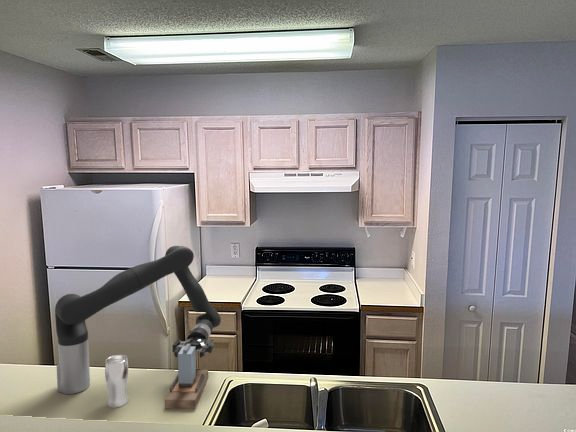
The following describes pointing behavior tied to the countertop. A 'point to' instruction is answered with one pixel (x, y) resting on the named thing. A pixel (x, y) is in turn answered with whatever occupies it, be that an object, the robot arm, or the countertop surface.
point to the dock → (186, 392)
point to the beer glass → (116, 380)
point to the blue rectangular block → (187, 366)
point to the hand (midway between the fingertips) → (188, 354)
